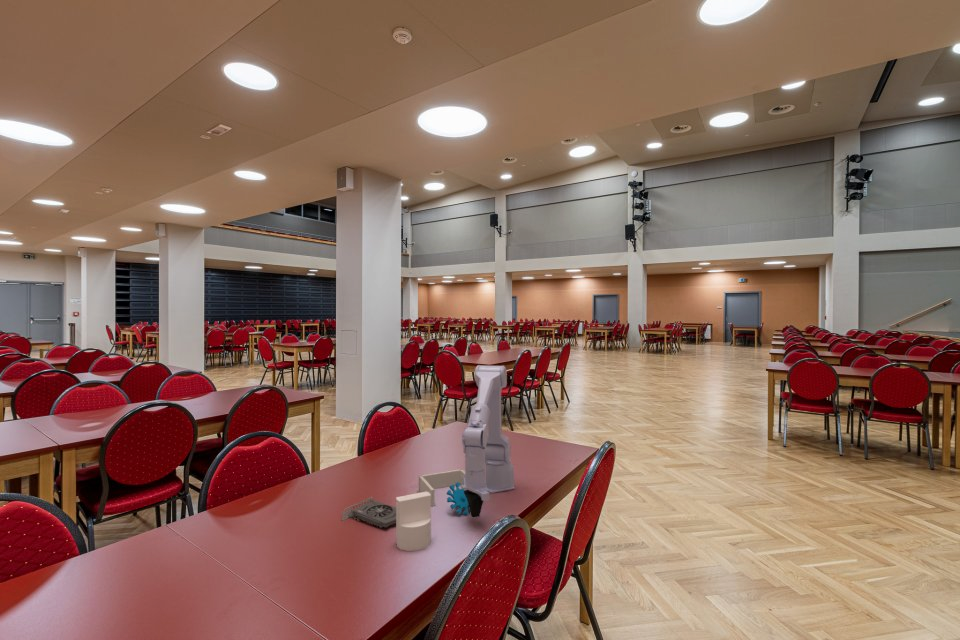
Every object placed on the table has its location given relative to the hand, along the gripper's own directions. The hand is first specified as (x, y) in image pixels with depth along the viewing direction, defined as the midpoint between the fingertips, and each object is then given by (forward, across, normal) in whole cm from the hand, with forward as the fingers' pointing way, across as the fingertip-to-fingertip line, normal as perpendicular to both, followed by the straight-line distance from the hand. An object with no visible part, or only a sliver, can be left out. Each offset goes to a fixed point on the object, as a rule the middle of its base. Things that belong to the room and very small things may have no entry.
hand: (475, 516), depth 125 cm
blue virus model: (+2, -9, 0) cm, 10 cm away
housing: (+2, -22, 0) cm, 22 cm away
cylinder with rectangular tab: (+2, +3, -19) cm, 19 cm away
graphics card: (+3, -14, -26) cm, 30 cm away
